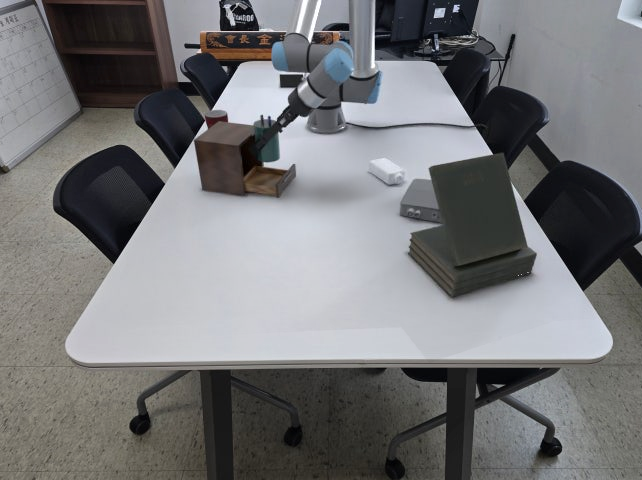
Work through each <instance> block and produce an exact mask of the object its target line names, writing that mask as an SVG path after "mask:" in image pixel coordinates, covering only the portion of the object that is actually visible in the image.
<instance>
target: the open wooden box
mask: <svg viewBox="0 0 642 480" xmlns="http://www.w3.org/2000/svg"><path fill="white" fill-rule="evenodd" d="M254 143H255V135H254V125H253V124H245V123H236V122H229V121H228V122H221V121H219V122H217V123H216V124H215V125H213V126H212V127H211V128H209V129H208V128H207V129H206V130H205V131H204V132H202V133H200V134H199V135H198V136H197V137H196V138H194V139H193V144H194V149H195V156H196V162H197V167H198V173H199V178H200V185H201V190H202V191H206V192H207V191H208V192H214V193H221V194H228V195H234V196H240V197H245V196H246V195H247V194H248V193H249V191H245V184H244V176H245V175H246V174H247V173H248V172H249V171H250V170H251V169H252V168H253V167H254V166H262V167H265V164H264V163H265V162H261V161H259V160H257V156H256V155H255V156H253V155H252V153H251V152H250V151H249V150H248V149H249V148H250V147H251V146H252V145H253V144H254Z"/></svg>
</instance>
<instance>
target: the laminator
mask: <svg viewBox="0 0 642 480" xmlns="http://www.w3.org/2000/svg"><path fill="white" fill-rule="evenodd" d="M305 74H306V73H298V72H284V71H279V87H280V88H298V86H299V84H300V83H301V82H303V81H302V78H303V77H304V78H305V77H306V75H305Z"/></svg>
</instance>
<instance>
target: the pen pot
mask: <svg viewBox="0 0 642 480" xmlns="http://www.w3.org/2000/svg"><path fill="white" fill-rule="evenodd" d="M259 118H260V119H258V120H256V121H254V122H253V124H252V125H254V135H255V142H256V141H257V140H258V139H259V138H260V136H259V134H261V135H263V134H264V133H265V132H266V131H267V130H268V129H269V128H270V127H271V126H272V125H273V124H274V123H275V122H276V121H277V120H275V119H272V117H271V115H268V116H267V118H265V117H264V114H260V115H259ZM279 133H280V132H279ZM279 133H277V134H276V135H275V136H274V137H273V138H272V139H271V140H270V141H269V143H268V144H267V145H265V146H264V147H263V148H262V149H261V150H260V151H259V152H258V153H257V154H256V156H257V160H259V161H261V162H264V163H274V162H277V161H279V160H280V159H281V152H280V151H281V150H280V148H281V147H280V135H279Z"/></svg>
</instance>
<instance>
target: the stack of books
mask: <svg viewBox="0 0 642 480" xmlns="http://www.w3.org/2000/svg"><path fill="white" fill-rule="evenodd" d="M427 169H428V172H429V177H430V180H432V184H433V188H434V192H435V196H436V200H437V204H438V208H439V211H440V215H441V219H442V223H441V224H442V225H437V226H433V227H430V228H425V229H420V230H416V231H412V232H410V235H411V236H410V238H409V239H408V240H409V242H410V245H408V248H409V252H407V254H408V255H409V257H411V259H413V261H414V262H415V263H416V264H417V265H418V266H419V267H420V268H421V269H422V270H423V271H424V272H425V273H426V274H427V275H428V276H429V277H430V278H431V279H432V280H433V281H434V282H435V283H436V284H437V285H438V286H439V288H441V290H443V292H444V293H445V294H446V295H447V296H448V297H449V298H450V299H452V298H455V297H458V296H461V295H465V294H468V293H472V292H475V291H479V290H482V289H485V288H489V287H492V286H495V285H499V284H503V283H506V282H509V281H513V280H516V279H519V278H523V277H526V276H530V275H531V274H532V272H533V268H534V265H535V263H536V262H535V261H536V259H537V256H538V252H536V251H534V250H533V249H532V247H531V248H530V247H529V246H528V241H527V238H526V234H525V230H524V227H523V222H522V218H521V215H520V212H519V211H520V210H519V207H518V204H517V203H518V202H517V199H516V196H515V192H514V187H513V184H512V181H511V176H510V173H509V168H508V165H507V161H506V157H505V154H504V152H498V153H493V154H489V155H488V154H487V155H482V156H477V157H471V158H467V159H461V160H456V161H450V162H445V163H440V164H433V165H431V166H430V167H428V168H427ZM531 271H532V272H531ZM527 272H529V273H527ZM521 274H522V275H521ZM518 275H519V276H518Z"/></svg>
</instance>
